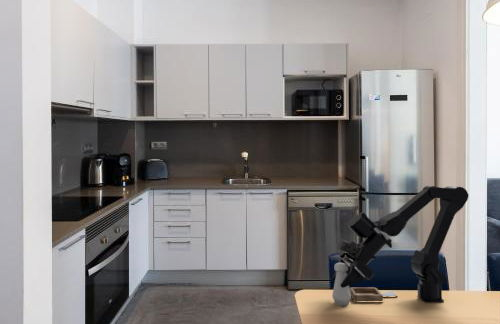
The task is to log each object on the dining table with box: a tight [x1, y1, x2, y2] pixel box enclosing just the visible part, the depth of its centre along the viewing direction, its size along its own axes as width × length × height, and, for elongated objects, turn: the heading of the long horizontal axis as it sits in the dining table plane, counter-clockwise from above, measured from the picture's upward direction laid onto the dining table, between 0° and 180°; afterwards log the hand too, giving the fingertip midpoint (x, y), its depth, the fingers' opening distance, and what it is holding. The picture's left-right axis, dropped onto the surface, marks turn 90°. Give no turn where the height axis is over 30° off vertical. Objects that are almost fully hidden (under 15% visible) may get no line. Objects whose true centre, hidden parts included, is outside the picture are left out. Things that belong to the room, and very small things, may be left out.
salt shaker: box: [332, 262, 352, 307], centre depth 137 cm, size 6×6×13 cm
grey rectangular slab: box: [382, 291, 398, 297], centre depth 145 cm, size 7×5×1 cm
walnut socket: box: [349, 287, 384, 303], centre depth 143 cm, size 9×9×2 cm
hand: (337, 283), depth 137 cm, fingers open, 8 cm apart
